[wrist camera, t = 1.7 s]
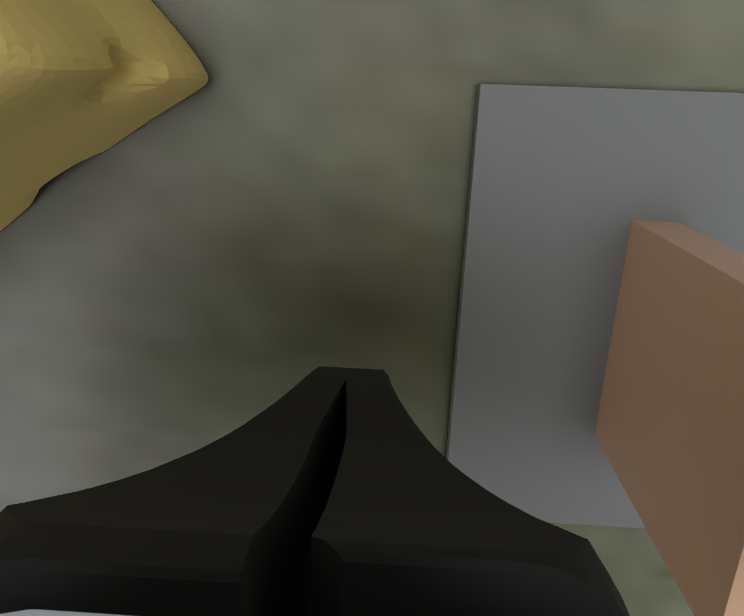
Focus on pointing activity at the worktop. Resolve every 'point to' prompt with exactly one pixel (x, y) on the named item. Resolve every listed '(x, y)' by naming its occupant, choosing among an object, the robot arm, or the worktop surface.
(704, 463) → the tile
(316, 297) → the worktop surface
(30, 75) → the cheese
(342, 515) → the robot arm
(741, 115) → the mat
